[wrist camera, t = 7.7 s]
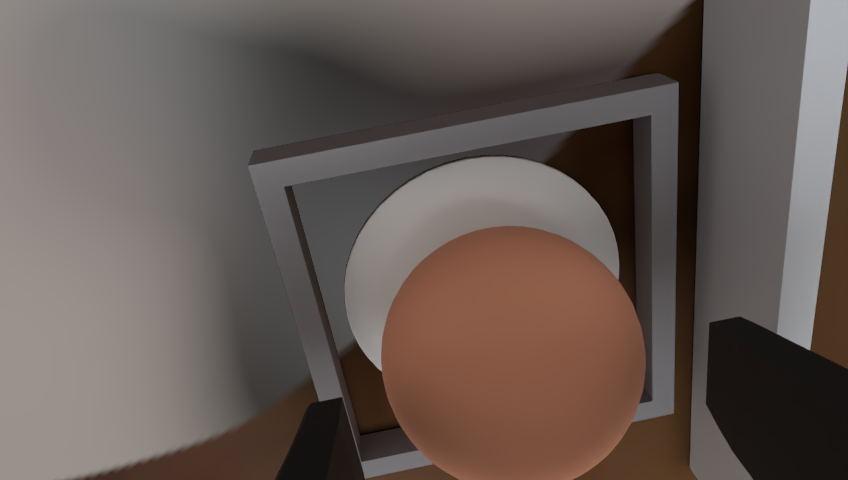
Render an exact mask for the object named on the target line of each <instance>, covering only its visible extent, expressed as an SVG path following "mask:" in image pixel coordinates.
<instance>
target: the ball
mask: <svg viewBox="0 0 848 480" xmlns="http://www.w3.org/2000/svg"><path fill="white" fill-rule="evenodd" d="M381 366H382V376H383V381H384V386H385V390H386V393H387V397H388V400H389V403H390V405H391V407H392V410H393V412H394V414H395V416H396V419H397V421H398V423H399V424H400V426H401V427H402V429H403V430H404V432H405V433H406V435H407V436H408V438H409V439H410V441H411V442H412V443H413V444H414V445H415V446H416V447H417V449H418V450H419V451H420V452H421V453H422V454H423V455H424V456H425V457H427V458H428V459H429V460H430V461H431V462H432V463H434V464H435V465H436V466H437V467H439V468H440V469H442V470H444V471H445V472H447V473H449V474H450V475H452V476H454V477H455V478H457V479H459V480H573V479H575V478H577V477H579V476H580V475H582V474H584V473H585V472H587V471H588V470H590V469H591V468H593V467H594V466H596V465H597V464H598V463H599V462H601V461H602V460H603V459H604V458H605V457H606V456H607V455H608V454H609V453H610V452H611V451H612V450H613V449H614V448H615V446H616V445H617V444H618V443H619V441H620V440H621V439H622V437H623V436H624V434H625V432H626V431H627V429H628V427H629V426H630V424H631V423H632V420H633V418H634V416H635V414H636V411H637V408H638V405H639V402H640V399H641V395H642V392H643V387H644V380H645V369H646V354H645V345H644V339H643V334H642V328H641V325H640V322H639V320H638V317H637V314H636V312H635V309H634V306H633V304H632V302H631V300H630V298H629V297H628V295H627V293H626V291H625V290H624V288H623V287H622V285H621V283H620V282H619V281H618V279H617V278H616V277H615V276H614V275H613V273H612V272H611V271H610V270H609V269H608V268H607V267H606V266H605V265H604V264H603V263H602V262H601V261H600V260H599V259H598V258H596V257H595V256H594V255H593V254H592V253H590V252H589V251H587V250H585V249H584V248H582V247H581V246H579V245H578V244H576V243H574V242H573V241H571V240H569V239H566V238H564V237H562V236H560V235H557V234H554V233H550V232H547V231H544V230H540V229H536V228H530V227H524V226H501V227H491V228H486V229H481V230H476V231H473V232H470V233H467V234H464V235H461V236H459V237H457V238H455V239H453V240H451V241H449V242H447V243H445V244H444V245H442V246H441V247H439V248H437V249H436V250H434V251H433V252H432V253H431V254H429V255H428V256H427V257H426V258H425V259H423V260H422V261H421V262H420V263H419V264H418V265H417V266H416V267H415V268H414V269H413V270H412V272H411V273H410V274H409V276H408V277H407V278H406V280H405V281H404V282H403V284H402V286H401V287H400V289H399V291H398V293H397V295H396V296H395V298H394V300H393V302H392V305H391V307H390V310H389V312H388V315H387V319H386V323H385V327H384V332H383V336H382V348H381Z"/></svg>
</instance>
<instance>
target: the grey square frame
mask: <svg viewBox="0 0 848 480" xmlns="http://www.w3.org/2000/svg"><path fill="white" fill-rule="evenodd" d="M678 104H679V82H677V81H675V80H673V79H671V78H669V77H666V76H664V75H662V74H660V73H654V74H648V75H643V76H638V77H633V78H628V79H623V80H617V81H612V82H607V83H602V84H597V85H592V86H586V87H581V88H576V89H571V90H566V91H561V92H555V93H550V94H545V95H540V96H535V97H530V98H524V99H520V100H514V101H509V102H504V103H499V104H493V105H488V106H483V107H478V108H473V109H468V110H462V111H457V112H452V113H447V114H441V115H436V116H432V117H426V118H421V119H416V120H410V121H405V122H401V123H395V124H390V125H385V126H379V127H374V128H369V129H364V130H359V131H354V132H349V133H343V134H338V135H333V136H328V137H323V138H317V139H312V140H307V141H302V142H297V143H291V144H286V145H281V146H276V147H271V148H266V149H261V150H255V151H253V154H252V156H251V159H250V162H249V164H248V168H249V171H250V175H251V178H252V181H253V185H254V188H255V191H256V194H257V198H258V201H259V204H260V208H261V211H262V214H263V217H264V221H265V224H266V227H267V231H268V234H269V237H270V240H271V244H272V247H273V250H274V254H275V257H276V260H277V264H278V267H279V270H280V274H281V277H282V280H283V283H284V287H285V290H286V293H287V296H288V300H289V303H290V307H291V310H292V313H293V316H294V320H295V323H296V326H297V330H298V333H299V336H300V339H301V342H302V346H303V349H304V353H305V356H306V359H307V363H308V366H309V369H310V372H311V376H312V379H313V382H314V386H315V389H316V392H317V395H318V399H319V402H320V401H325V400H330V399H335V398H339V397H342V398H343V401H344V405H345V408H346V412H347V415H348V419H349V423H350V426H351V430H352V433H353V437H354V440H355V444H356V447H357V451H358V454H359V458H360V462H361V465H362V469H363V472H364V478H369V477H374V476H379V475H384V474H388V473H393V472H398V471H403V470H407V469H412V468H417V467H422V466H426V465H431V464H434V463H432V462H431V461H430V460H429V459H428V458H427V457H425V456H424V455H423V454H422V453H421V452H420V451H419V450H418V449H417V447H416V446H415V445H414V444H413V443H412V442H411V441H410V439H409V438H408V436H407V435H406V433H405V432H404V430H403V429H402V427H400V428H395V429H390V430H385V431H381V432H376V433H371V434H366V435H361V436H360V433H359V429H358V426H357V422H356V418H355V415H354V411H353V407H352V404H351V400H350V396H349V393H348V389H347V386H346V382H345V378H344V375H343V371H342V367H341V364H340V360H339V356H338V353H337V350H336V346H335V342H334V338H333V335H332V331H331V328H330V324H329V320H328V317H327V313H326V309H325V306H324V302H323V298H322V295H321V291H320V287H319V284H318V280H317V277H316V273H315V269H314V266H313V262H312V259H311V255H310V252H309V248H308V244H307V240H306V237H305V233H304V229H303V226H302V222H301V219H300V215H299V211H298V208H297V204H296V200H295V197H294V193H293V190H292V186H291V185H296V184H301V183H306V182H311V181H316V180H322V179H326V178H332V177H337V176H342V175H347V174H352V173H358V172H363V171H367V170H373V169H378V168H383V167H388V166H393V165H398V164H404V163H409V162H414V161H419V160H424V159H429V158H434V157H440V156H445V155H450V154H455V153H460V152H465V151H470V150H475V149H480V148H486V147H491V146H495V145H501V144H506V143H511V142H516V141H521V140H526V139H532V138H537V137H542V136H547V135H552V134H557V133H562V132H568V131H573V130H578V129H583V128H588V127H593V126H598V125H603V124H608V123H614V122H619V121H624V120H629V119H633V152H634V210H635V267H636V314H637V317H638V320H639V322H640V325H641V328H642V334H643V339H644V345H645V354H646V369H645V380H644V387H643V392H642V395H641V399H640V402H639V405H638V408H637V411H636V414H635V416H634V418H633V420H632V422H636V421H640V420H645V419H650V418H655V417H659V416H664V415H669V414H674V368H675V302H676V236H677V170H678ZM501 226H524V227H530V228H536V229H540V230H544V231H547V232H550V233H554V234H557V235H560V236H562V237H564V238H566V239H569V240H571V241H573V242H574V243H576V244H578V245H579V246H581V247H582V248H584V249H585V250H587V251H589V252H590V253H592V254H593V255H594V256H595V257H596V258H598V259H599V260H600V261H601V262H602V263H603V264H604V265H605V266H606V267H607V268H608V269H609V270H610V271H611V272H612V273H613V275H614V276H615V277H616V278H617V279H618V280H619V255H618V247H617V243H616V239H615V235H614V232H613V230H612V227H611V225H610V223H609V220H608V218H607V217H606V215H605V213H604V212H603V210H602V209H601V207H600V206H599V204H598V203H597V202H596V201H595V200H594V198H593V197H592V196H591V195H590V194H589V193H588V192H587V191H586V190H585V189H584V188H583V187H582V186H581V185H580V184H578V183H577V182H576V181H575V180H574V179H572V178H571V177H569V176H568V175H566V174H564V173H563V172H561V171H559V170H558V169H556V168H553V167H551V166H548V165H546V164H544V163H541V162H538V161H534V160H530V159H527V158H523V157H516V156H508V155H480V156H473V157H465V158H461V159H457V160H453V161H450V162H446V163H443V164H441V165H438V166H435V167H433V168H430V169H428V170H426V171H424V172H422V173H420V174H418V175H417V176H415V177H413V178H411V179H409V180H408V181H407V182H405V183H404V184H402V185H401V186H400V187H399V188H397V189H396V190H394V191H393V192H392V193H391V194H390V195H389V196H388V197H386V198H385V199H384V200H383V201H382V202H381V203H380V204H379V205H378V206H377V208H376V209H375V210H374V211H373V212H372V214H371V215H370V216H369V217H368V219H367V220H366V222H365V223H364V225H363V227H362V228H361V230H360V231H359V233H358V235H357V237H356V240H355V242H354V244H353V247H352V249H351V251H350V255H349V258H348V262H347V266H346V273H345V281H344V296H345V307H346V313H347V318H348V321H349V324H350V327H351V330H352V333H353V335H354V337H355V339H356V341H357V342H358V344H359V346H360V348H361V349H362V350H363V352H364V353H365V355H366V356H367V357H368V359H369V360H370V361H371V362H372V363H373V364H374V365H375V366H376V367H377V368H378V369H379V370H380V371H382V366H381V348H382V336H383V332H384V327H385V323H386V319H387V315H388V312H389V310H390V307H391V305H392V302H393V300H394V298H395V296H396V295H397V293H398V291H399V289H400V287H401V286H402V284H403V282H404V281H405V280H406V278H407V277H408V276H409V274H410V273H411V272H412V270H413V269H414V268H415V267H416V266H417V265H418V264H419V263H420V262H421V261H422V260H423V259H425V258H426V257H427V256H428V255H429V254H431V253H432V252H433V251H434V250H436V249H437V248H439V247H441V246H442V245H444V244H445V243H447V242H449V241H451V240H453V239H455V238H457V237H459V236H461V235H464V234H467V233H470V232H473V231H476V230H481V229H486V228H491V227H501Z"/></svg>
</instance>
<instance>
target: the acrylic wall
mask: <svg viewBox="0 0 848 480" xmlns="http://www.w3.org/2000/svg"><path fill="white" fill-rule="evenodd" d="M847 65H848V0H704V16H703V48H702V80H701V112H700V145H699V177H698V209H697V242H696V274H695V306H694V339H693V371H692V403H691V435H690V469H691V470H692V472H693V473H694V475H695V476H696V478H697V479H698V480H753V479H752V477H751V476H750V475H749V473H748V472H747V471H746V469H745V468H744V466H743V465H742V464H741V462H740V461H739V460H738V458H737V457H736V456H735V454H734V453H733V451H732V450H731V448H730V447H729V445H728V443H727V441H726V440H725V438H724V436H723V435H722V433H721V431H720V429H719V428H718V426H717V424H716V422H715V420H714V418H713V417H712V415H711V413H710V411H709V409H708V407H707V406H706V386H707V363H708V340H709V322H714V321H719V320H724V319H729V318H734V317H739V316H740V317H743V318H745V319H747V320H749V321H752V322H754V323H756V324H758V325H760V326H762V327H764V328H766V329H768V330H770V331H772V332H774V333H776V334H778V335H780V336H782V337H784V338H786V339H788V340H790V341H792V342H794V343H796V344H798V345H800V346H802V347H804V348H806V349H808V350H810V346H811V339H812V331H813V324H814V316H815V308H816V301H817V293H818V285H819V278H820V270H821V263H822V255H823V247H824V240H825V232H826V225H827V217H828V209H829V202H830V194H831V187H832V179H833V171H834V164H835V156H836V148H837V141H838V133H839V126H840V118H841V110H842V103H843V95H844V88H845V80H846V72H847Z"/></svg>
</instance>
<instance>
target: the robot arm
mask: <svg viewBox="0 0 848 480" xmlns="http://www.w3.org/2000/svg"><path fill="white" fill-rule="evenodd" d="M706 406H707V407H708V409H709V411H710V413H711V415H712V417H713V418H714V420H715V422H716V424H717V426H718V428H719V429H720V431H721V433H722V435H723V436H724V438H725V440H726V441H727V443H728V445H729V447H730V448H731V450H732V451H733V453H734V454H735V456H736V457H737V458H738V460H739V461H740V462H741V464H742V465H743V466H744V468H745V469H746V471H747V472H748V473H749V475H750V476H751V477H752V479H753V480H848V369H847V368H845V367H842V366H840V365H838V364H836V363H834V362H832V361H830V360H828V359H826V358H824V357H822V356H820V355H818V354H816V353H814V352H812V351H810V350H808V349H806V348H804V347H802V346H800V345H798V344H796V343H794V342H792V341H790V340H788V339H786V338H784V337H782V336H780V335H778V334H776V333H774V332H772V331H770V330H768V329H766V328H764V327H762V326H760V325H758V324H756V323H754V322H752V321H749V320H747V319H745V318H743V317H740V316H739V317H734V318H729V319H724V320H719V321H714V322H709V340H708V363H707V386H706ZM275 480H365V478H364V472H363V469H362V465H361V462H360V458H359V454H358V451H357V447H356V444H355V440H354V437H353V433H352V430H351V426H350V423H349V419H348V415H347V412H346V408H345V405H344V401H343V398H342V397H339V398H335V399H330V400H325V401H320V402H315V403H311V404H310V405H309V406H308V408H307V409H306V412H305V414H304V417H303V419H302V422H301V424H300V427H299V429H298V431H297V434H296V436H295V438H294V441H293V443H292V445H291V447H290V449H289V452H288V454H287V456H286V458H285V460H284V462H283V464H282V466H281V468H280V470H279V472H278V474H277V476H276V478H275Z"/></svg>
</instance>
